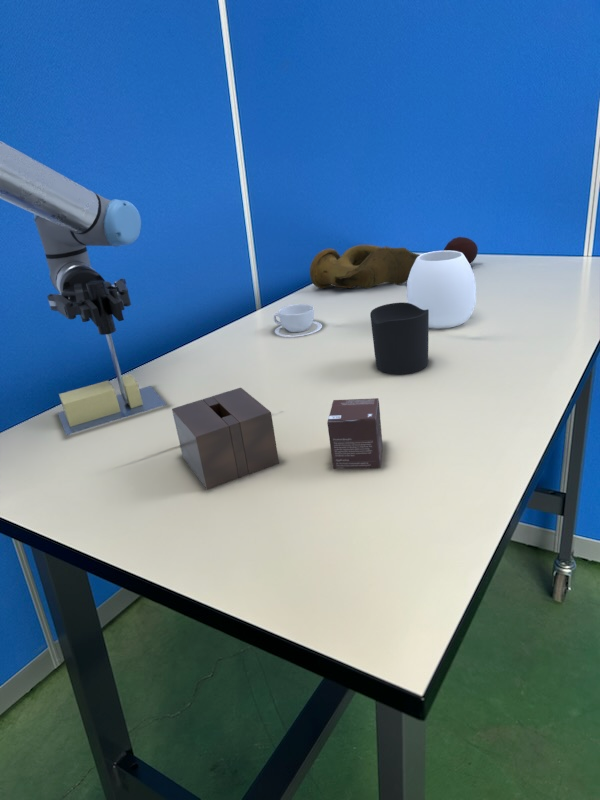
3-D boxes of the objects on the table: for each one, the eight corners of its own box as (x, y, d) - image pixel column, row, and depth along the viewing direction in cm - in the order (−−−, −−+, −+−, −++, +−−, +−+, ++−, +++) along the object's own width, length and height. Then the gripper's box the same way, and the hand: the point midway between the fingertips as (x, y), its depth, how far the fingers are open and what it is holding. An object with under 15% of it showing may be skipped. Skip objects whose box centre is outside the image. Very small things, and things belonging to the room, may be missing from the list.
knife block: (207, 493, 77) (195, 436, 74) (183, 460, 86) (171, 408, 82) (279, 466, 81) (271, 411, 78) (249, 437, 89) (240, 387, 86)
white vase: (396, 330, 123) (392, 262, 117) (426, 310, 132) (424, 246, 126) (459, 337, 115) (458, 265, 109) (486, 315, 124) (487, 248, 119)
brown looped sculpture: (370, 273, 136) (300, 250, 149) (379, 319, 145) (312, 294, 158) (421, 230, 143) (350, 212, 157) (426, 277, 152) (358, 256, 166)
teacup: (327, 322, 133) (324, 301, 131) (316, 338, 124) (313, 316, 122) (282, 323, 136) (279, 303, 134) (268, 339, 127) (265, 317, 125)
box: (383, 447, 82) (380, 397, 79) (381, 471, 77) (376, 419, 74) (338, 448, 83) (332, 399, 80) (332, 472, 78) (326, 420, 75)
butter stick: (70, 427, 98) (63, 404, 96) (65, 416, 102) (58, 394, 100) (120, 411, 101) (114, 389, 99) (114, 401, 105) (108, 380, 103)
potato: (483, 267, 158) (483, 236, 154) (449, 273, 157) (448, 242, 153) (470, 261, 165) (470, 231, 162) (436, 266, 164) (436, 237, 161)
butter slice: (131, 408, 101) (125, 386, 100) (124, 398, 105) (118, 377, 104) (143, 405, 102) (137, 382, 100) (135, 395, 106) (130, 373, 104)
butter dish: (67, 440, 96) (66, 434, 95) (59, 418, 104) (57, 412, 103) (167, 409, 102) (166, 404, 101) (151, 390, 110) (150, 385, 109)
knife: (119, 405, 101) (87, 285, 93) (115, 399, 104) (84, 282, 95) (135, 401, 102) (105, 282, 94) (131, 395, 105) (101, 278, 96)
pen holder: (431, 356, 109) (430, 301, 104) (428, 378, 100) (426, 319, 96) (378, 357, 111) (374, 303, 107) (370, 378, 103) (366, 321, 99)
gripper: (129, 297, 116) (164, 325, 96) (42, 317, 110) (61, 352, 90) (119, 256, 112) (154, 278, 93) (29, 275, 107) (46, 302, 87)
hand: (108, 314), depth 92 cm, fingers closed on knife, 2 cm apart
